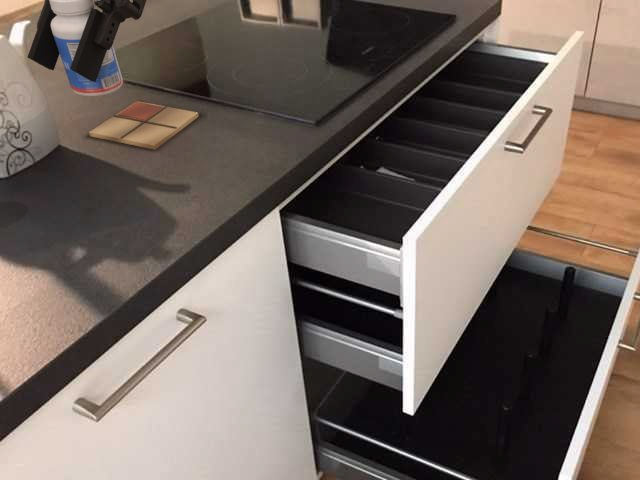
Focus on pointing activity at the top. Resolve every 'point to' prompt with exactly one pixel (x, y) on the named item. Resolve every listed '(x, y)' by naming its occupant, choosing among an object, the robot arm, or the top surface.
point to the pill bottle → (67, 28)
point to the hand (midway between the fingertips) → (61, 69)
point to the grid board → (144, 125)
